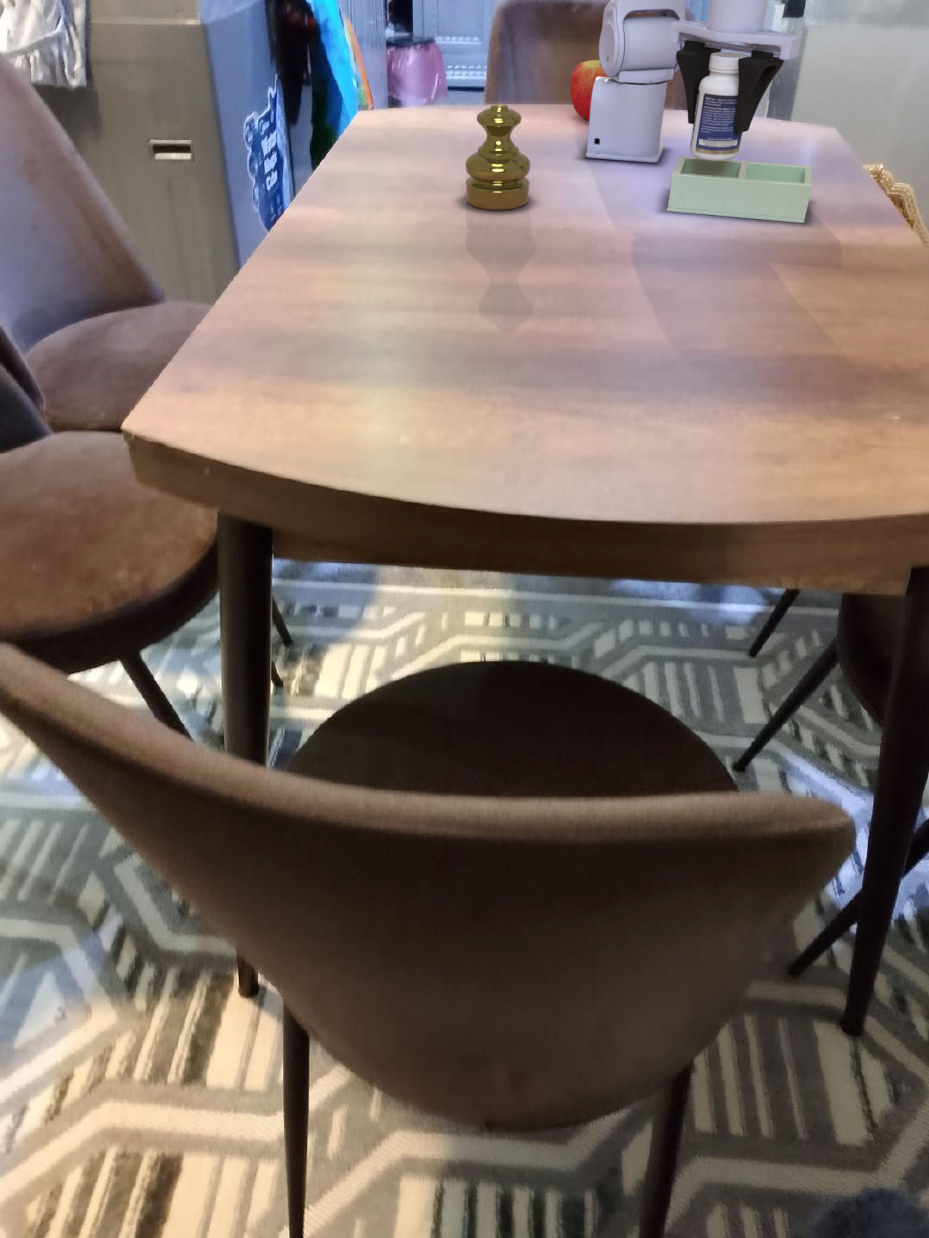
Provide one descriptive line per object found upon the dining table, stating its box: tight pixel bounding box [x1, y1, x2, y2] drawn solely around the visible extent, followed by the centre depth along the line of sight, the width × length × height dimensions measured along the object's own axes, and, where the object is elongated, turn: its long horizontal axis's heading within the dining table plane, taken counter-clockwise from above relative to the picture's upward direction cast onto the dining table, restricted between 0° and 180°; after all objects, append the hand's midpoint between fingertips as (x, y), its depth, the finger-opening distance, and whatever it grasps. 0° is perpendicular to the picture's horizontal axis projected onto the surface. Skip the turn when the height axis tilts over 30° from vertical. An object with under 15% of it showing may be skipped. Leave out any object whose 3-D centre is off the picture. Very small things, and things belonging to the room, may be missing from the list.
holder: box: [666, 155, 813, 224], centre depth 104 cm, size 8×15×4 cm, turn 74°
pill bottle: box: [689, 51, 750, 161], centre depth 99 cm, size 5×5×10 cm
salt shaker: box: [465, 103, 531, 211], centre depth 103 cm, size 7×7×10 cm
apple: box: [569, 59, 608, 121], centre depth 133 cm, size 8×8×10 cm
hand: (718, 127), depth 100 cm, fingers closed on pill bottle, 5 cm apart
